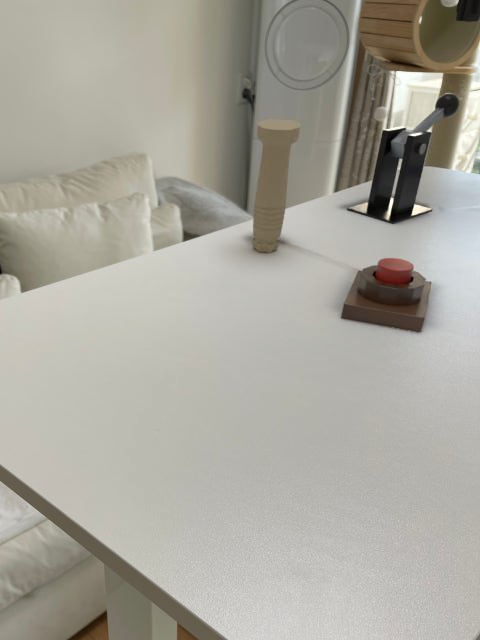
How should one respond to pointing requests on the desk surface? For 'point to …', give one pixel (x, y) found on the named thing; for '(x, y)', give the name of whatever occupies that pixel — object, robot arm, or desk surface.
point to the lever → (427, 122)
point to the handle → (272, 181)
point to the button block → (387, 301)
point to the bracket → (407, 182)
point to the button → (394, 271)
